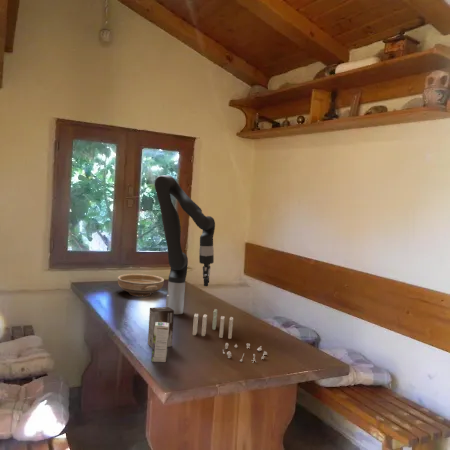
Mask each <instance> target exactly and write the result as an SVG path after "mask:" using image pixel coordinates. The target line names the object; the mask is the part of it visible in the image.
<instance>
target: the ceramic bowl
mask: <svg viewBox="0 0 450 450" xmlns="http://www.w3.org/2000/svg"><path fill="white" fill-rule="evenodd" d="M164 281H165V279H164V278H163V277H161V276H157V275H153V274H145V273H128V274H127V273H125V274H121V275H119V276H117V284H118V286H119V287H120V288H121V289H122V290H124V291H125V292H128V293H129V295H131V296H134V297H148V296H151V294H152V293H153V294H154V293H156V292H158V291H159V290H161V289H162V287H163V286H164Z"/></svg>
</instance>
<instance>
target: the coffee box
mask: <svg viewBox="0 0 450 450" xmlns="http://www.w3.org/2000/svg"><path fill="white" fill-rule="evenodd" d="M174 315H175V314H174V310H173V309H171V308H169V307H166V306H164V307H163V306H161V307H158V306H157V307H149V316H148V319H149V320H148V331H147V332H148V333H147V344H148V345H149V347H150V348H152V347H153V336H154V326H155V323H156V322H165V323H169V333H168V345H167V348H168V347H173V333H174V317H175V316H174Z"/></svg>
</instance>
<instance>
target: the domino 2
mask: <svg viewBox="0 0 450 450" xmlns="http://www.w3.org/2000/svg"><path fill="white" fill-rule="evenodd" d="M207 321H208V315H207V314H206V313H205V314H203V316H202V323H201V325H202V326H201V337H205V336H206V334H207V333H206V332H207Z"/></svg>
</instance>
